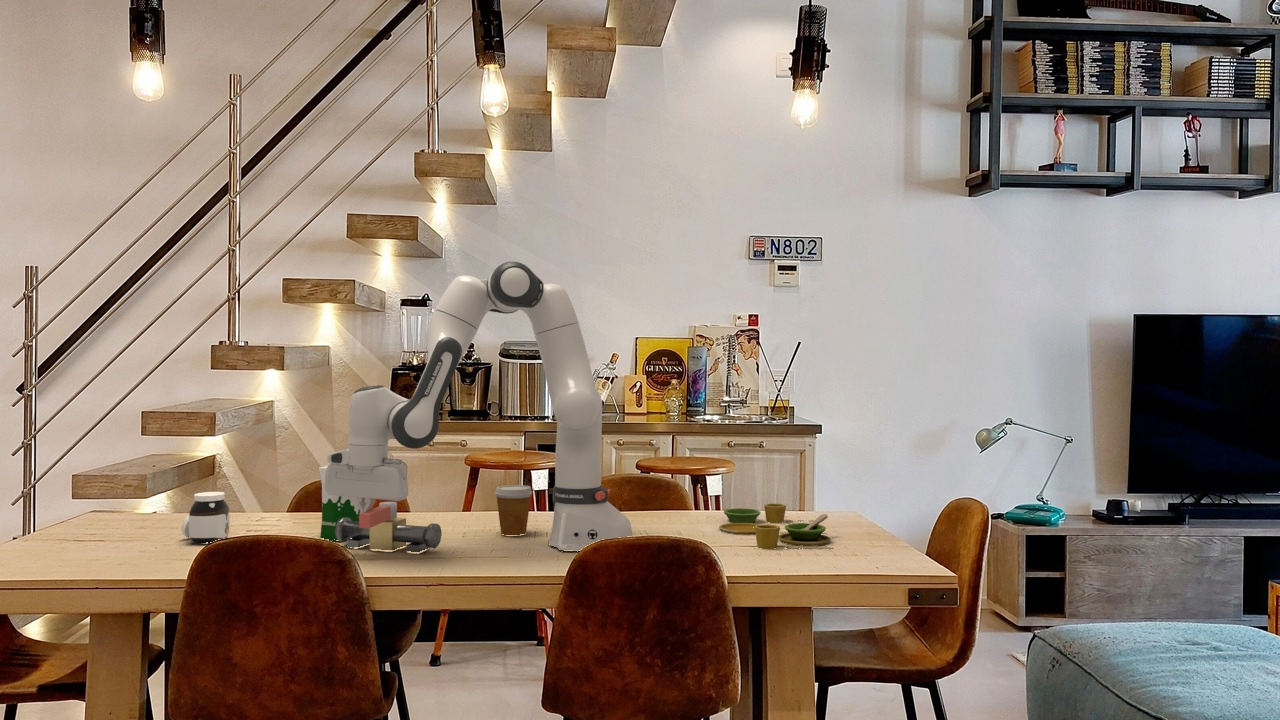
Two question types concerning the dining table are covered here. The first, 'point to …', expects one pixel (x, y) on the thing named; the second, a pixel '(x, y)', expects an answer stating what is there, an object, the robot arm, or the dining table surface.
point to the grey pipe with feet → (389, 535)
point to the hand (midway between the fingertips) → (365, 517)
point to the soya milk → (335, 509)
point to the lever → (378, 515)
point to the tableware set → (776, 528)
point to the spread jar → (207, 518)
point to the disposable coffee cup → (513, 508)
